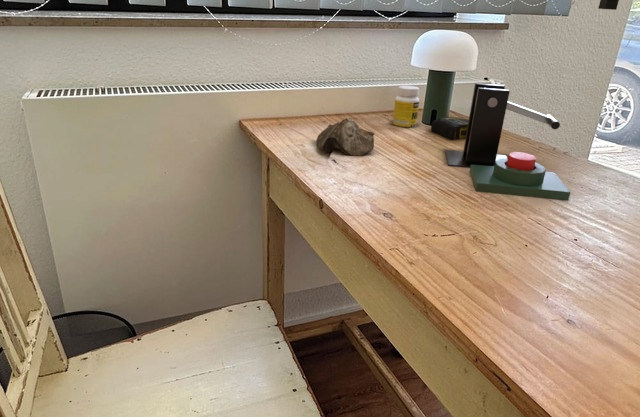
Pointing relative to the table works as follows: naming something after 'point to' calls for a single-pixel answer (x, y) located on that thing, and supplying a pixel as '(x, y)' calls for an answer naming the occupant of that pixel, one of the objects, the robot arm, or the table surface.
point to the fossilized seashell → (346, 138)
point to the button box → (518, 181)
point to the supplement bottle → (406, 107)
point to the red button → (521, 161)
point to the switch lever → (533, 115)
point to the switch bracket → (482, 128)
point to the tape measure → (450, 127)
